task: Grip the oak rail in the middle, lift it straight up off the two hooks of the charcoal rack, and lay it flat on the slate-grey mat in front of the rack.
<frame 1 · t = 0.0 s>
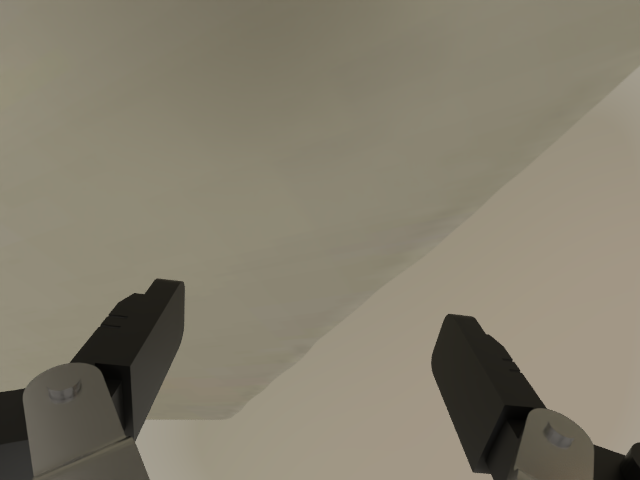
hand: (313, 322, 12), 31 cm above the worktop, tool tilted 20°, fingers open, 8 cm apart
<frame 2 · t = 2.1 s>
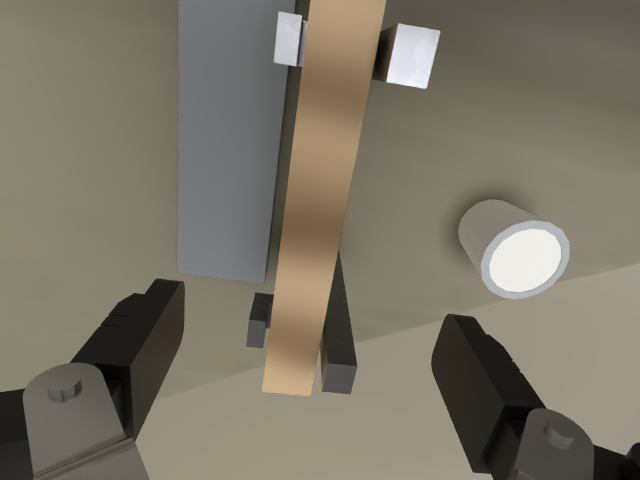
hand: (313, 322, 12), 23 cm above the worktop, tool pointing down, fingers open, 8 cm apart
beige white-topped cylinder: (486, 226, 36), on the worktop
slate mat: (231, 146, 32), on the worktop
oak rail: (312, 204, 22), point 12 cm above the worktop, touching charcoal rack
charcoal rack: (325, 160, 33), on the worktop
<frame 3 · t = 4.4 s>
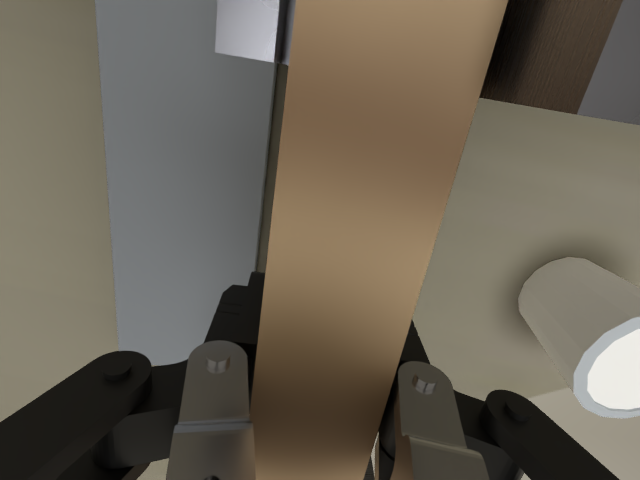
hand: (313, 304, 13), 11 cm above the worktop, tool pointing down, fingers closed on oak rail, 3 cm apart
beige white-topped cylinder: (558, 293, 26), on the worktop
slate mat: (193, 185, 22), on the worktop
oak rail: (314, 330, 11), point 12 cm above the worktop, touching charcoal rack, gripper
charcoal rack: (332, 204, 23), on the worktop
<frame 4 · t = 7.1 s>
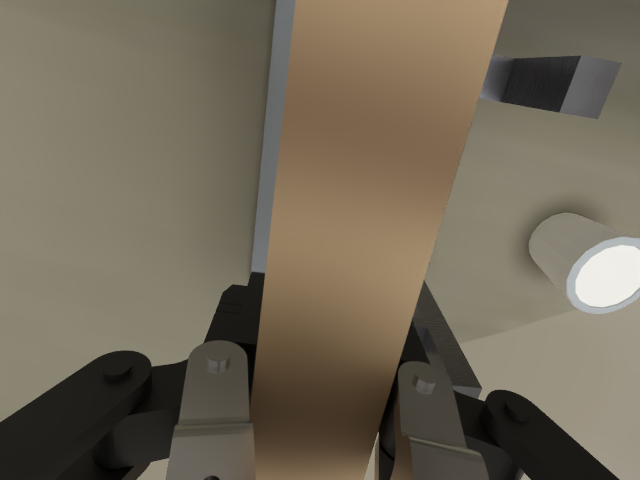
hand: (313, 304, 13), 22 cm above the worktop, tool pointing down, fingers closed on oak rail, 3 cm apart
beige white-topped cylinder: (557, 239, 36), on the worktop
slate mat: (311, 160, 32), on the worktop
oak rail: (315, 331, 11), point 23 cm above the worktop, touching gripper
charcoal rack: (403, 174, 33), on the worktop
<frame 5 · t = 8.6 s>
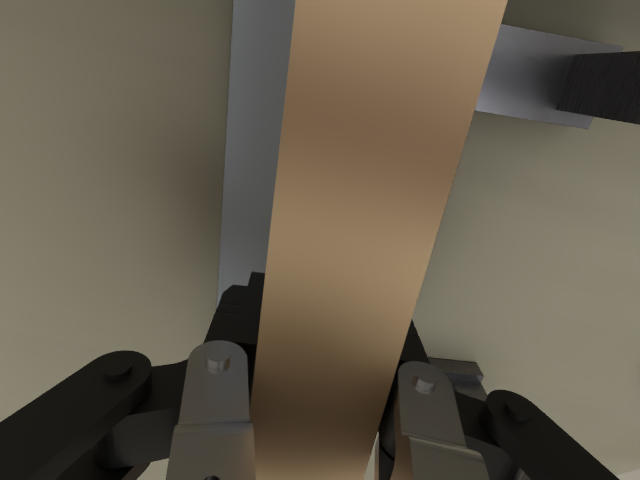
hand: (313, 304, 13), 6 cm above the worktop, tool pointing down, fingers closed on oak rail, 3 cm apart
slate mat: (313, 233, 18), on the worktop
oak rail: (314, 331, 11), point 7 cm above the worktop, touching gripper
charcoal rack: (475, 254, 19), on the worktop
when the fingers open (2 cm above the worktop, at t = 10.0 s): oak rail drops 2 cm, resting on slate mat.
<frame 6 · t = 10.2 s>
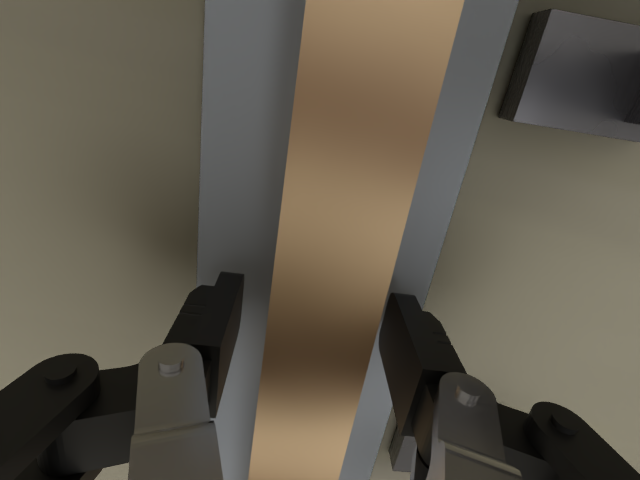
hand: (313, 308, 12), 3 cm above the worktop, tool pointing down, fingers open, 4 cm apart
slate mat: (312, 270, 15), on the worktop
oak rail: (316, 292, 13), point 1 cm above the worktop, touching slate mat
charcoal rack: (509, 295, 16), on the worktop
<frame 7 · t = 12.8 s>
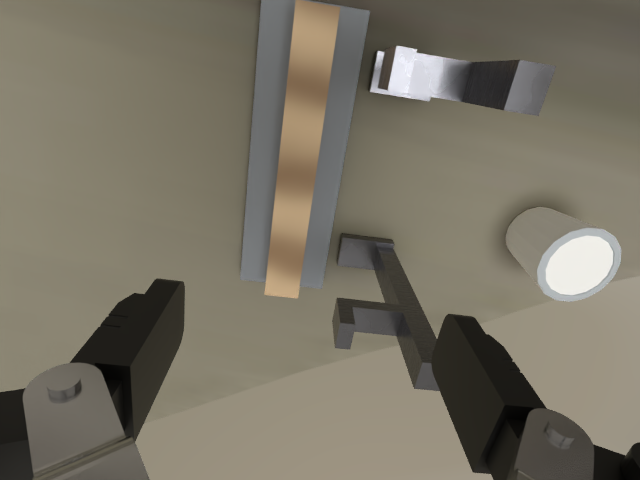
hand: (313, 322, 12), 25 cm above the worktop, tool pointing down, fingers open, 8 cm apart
beige white-topped cylinder: (532, 233, 38), on the worktop
slate mat: (296, 159, 34), on the worktop
oak rail: (297, 163, 33), point 1 cm above the worktop, touching slate mat
charcoal rack: (384, 171, 35), on the worktop
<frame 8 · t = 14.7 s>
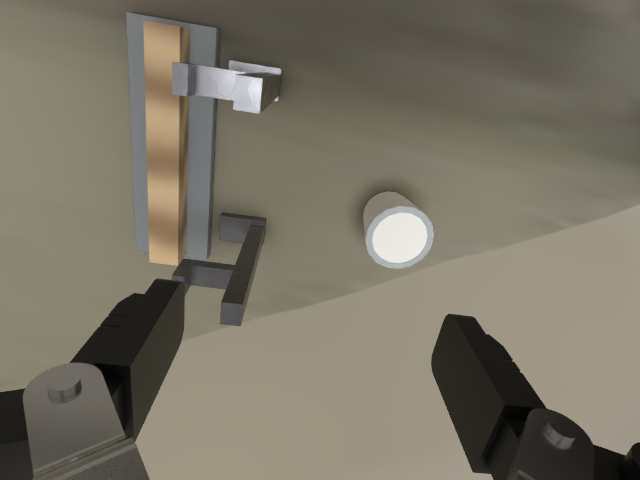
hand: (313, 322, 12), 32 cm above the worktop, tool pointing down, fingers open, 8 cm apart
beige white-topped cylinder: (386, 214, 45), on the worktop
slate mat: (176, 149, 41), on the worktop
oak rail: (172, 152, 40), point 1 cm above the worktop, touching slate mat
charcoal rack: (251, 160, 42), on the worktop
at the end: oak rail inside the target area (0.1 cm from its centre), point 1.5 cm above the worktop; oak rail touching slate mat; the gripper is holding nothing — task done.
